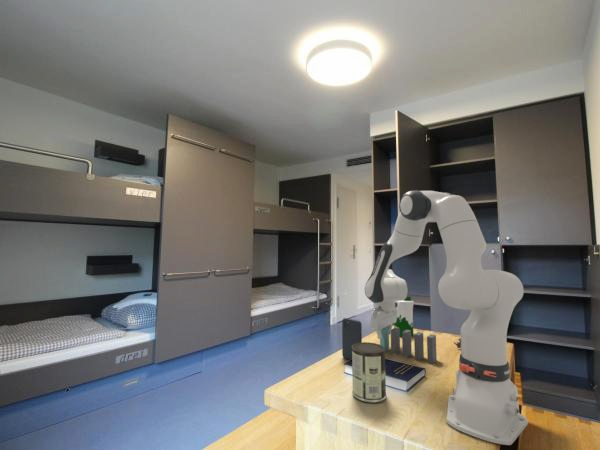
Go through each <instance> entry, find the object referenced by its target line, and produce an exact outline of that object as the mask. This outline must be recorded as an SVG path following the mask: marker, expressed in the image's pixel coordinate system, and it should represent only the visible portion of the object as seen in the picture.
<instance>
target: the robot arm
mask: <svg viewBox="0 0 600 450" xmlns="http://www.w3.org/2000/svg"><path fill="white" fill-rule="evenodd" d="M428 223H436V224H437V228H438V231H439V234H440V237H441V241H442V244H443V247H444V250H445V255H446V268H445V271H444V273H443V275H442V276H441V278H440V279H439V281H438V285H437V287H438V291H437V292H438V294H439V297H440V299H441V300H442V302H443V303H444V305H446V306H447V307H449V308H453V309H456V310H457V309H459V310H464V311H470V314H469V316H468V318H467V319H466V320H465V321H464V322H463V323H462V325H461V327H460V330H459V331H460V338H461V348H460V353H459V358H458V359H459V360H458V363H459V365H458V366H459V367H458V370H457V371H455V382H456V385H455V388H453V389H452V394H450V395H448V399H447V409H446V424H448V425H449V426H451V427H452V428H454V429H456V430H458V431H460V432H463V433H464V434H467V435H470V436H473V437H475V438H478V439H481V440H484V441H486V442H490V443H494V444H499V445H503V446H504V445H505V446H512V444H513V443H514V442H515V441H516V440H517V438H519V436H520V435H521V433H522V432H523V431H524V430H525V428H526V427H527V426H528V425H529V419H528V418H527V417H526V416H525V415H523V414H521V413H520V406H519V405H520V404H519V395H518V388H517V387H518V386H517V385H515V384H514V383H513V381H511V379H510V377H511V367H510V363H509V361H508V351H507V348H508V347H507V345H508V344H507V342H508V341H507V335H508V328H509V323H510V321H511V317H512V315H513V311H514V309H515V307H516V306H517V304H518V303H519V302H520V301H521V300H522V299H523V297H524V285H523V283H522V281H521V279H520V278H519V277H518V276H517V275H516V274H514V273H511V272H508V271H504V270H500V269H483V265H482V255H483V254H484V253H485V252H486V249H487V242H486V240H485V237H484V235H483V233H482V230H481V227H480V224H479V222H478V219H477V218H476V215H475V213H474V211H473V210H472V207H471V206H470V204H469V203H468V201H467V200H466V199H465V198H464V197H463V196H461V195H458V194H457V195H456V194H453V193H450V192H442V191H440V192H439V191H435V190H416V189H415V190H410V191H407V192H405V193H404V194H403V195H402V196H401V199H400V201H399V213H398V216H397V217H396V221H395V224H394V228H393V232H392V234H391V236H390V237H389V239H388V240H387V242H385V243H383V244H382V246H381V248H380V251H379V252H378V255H377V258H376V260H375V263H374V266H373V268H372V271H371V273H370V276H369V277H368V279H367V281H366V283H365V286H364V294H365V296H366V298H367V299H369V301H371V302H372V303H373V311H372V312H371V315H370V328H371V330H373V331H375V332H376V334H377V337H376V338H377V340H380V339H382V338H383V335H382V333H381V331H382V329H383V328H385V327H387V326H389V336H391V330H392V329H393V325H394V323H396V321H397V307H398V303H397V302H395V301H401V300H405V299H406V298H407V297H408V296H409V294H410V286H409V284H408V282H407V281H406V279H404V278H401V277H399V276H397V274H395V273H394V271H393V270H392V269H391V268H390V266H391V265H392V263H393V262H394V261H396V260H398V259H400V258H402V257H404V256H405V257H406V256H408V255H410V254H413V253H414V252H416V251H417V250H418V249H419V247H420V246H421V244H422V243H423V242H422V241H423V237H424V234H425V230H426V225H427V224H428Z"/></svg>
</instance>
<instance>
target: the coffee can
mask: <svg viewBox="0 0 600 450" xmlns="http://www.w3.org/2000/svg"><path fill="white" fill-rule="evenodd" d="M351 366H352V368H351V369H352V371H351V372H352V377H351V378H352V379H351V381H352V395H353V397H355V398H356V399H357V400H360V401H362V402H365V403H380V402H383V401H384V400H386V398H387V392H386V391H387V388H386V383H387V381H386V378H387V377H386V352H385V347H383V346H382V345H380V343H375V342H367V341H366V342H364V341H363V342H361V343H356V344H353V345H352V361H351Z"/></svg>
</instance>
